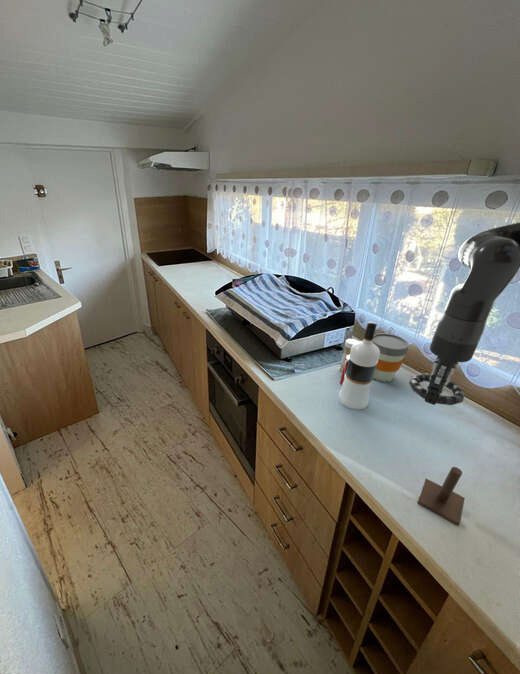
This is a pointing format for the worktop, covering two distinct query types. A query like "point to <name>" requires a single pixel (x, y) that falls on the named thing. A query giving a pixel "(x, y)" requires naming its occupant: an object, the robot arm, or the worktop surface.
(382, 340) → the reusable coffee cup
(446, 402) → the ring
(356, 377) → the vodka
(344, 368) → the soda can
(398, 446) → the worktop surface
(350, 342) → the sprinkles bottle
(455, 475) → the post
